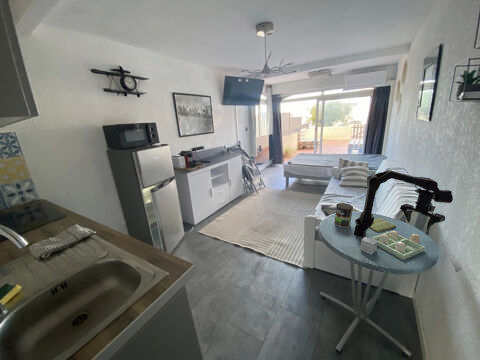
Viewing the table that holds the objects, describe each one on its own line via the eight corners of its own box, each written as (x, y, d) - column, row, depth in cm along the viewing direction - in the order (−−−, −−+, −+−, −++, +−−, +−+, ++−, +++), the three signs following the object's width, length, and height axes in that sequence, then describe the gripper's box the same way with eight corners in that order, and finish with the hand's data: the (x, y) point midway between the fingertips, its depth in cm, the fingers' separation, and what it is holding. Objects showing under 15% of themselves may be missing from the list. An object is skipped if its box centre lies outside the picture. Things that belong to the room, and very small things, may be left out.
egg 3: (401, 255, 106) (403, 245, 104) (392, 251, 110) (394, 241, 108) (406, 253, 107) (408, 243, 106) (397, 248, 111) (399, 239, 110)
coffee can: (343, 229, 134) (345, 210, 130) (331, 222, 143) (333, 204, 139) (353, 225, 138) (356, 207, 134) (341, 219, 147) (343, 201, 143)
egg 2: (394, 243, 116) (396, 233, 115) (386, 239, 120) (388, 230, 119) (399, 241, 118) (401, 232, 116) (391, 237, 122) (393, 228, 120)
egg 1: (384, 246, 114) (386, 237, 112) (377, 242, 117) (378, 233, 116) (389, 244, 115) (391, 235, 113) (382, 240, 119) (384, 231, 117)
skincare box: (371, 256, 108) (373, 244, 106) (359, 250, 112) (361, 239, 110) (376, 251, 111) (378, 240, 109) (364, 246, 116) (366, 235, 114)
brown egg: (415, 246, 114) (418, 237, 112) (407, 242, 118) (409, 233, 116) (420, 244, 116) (422, 235, 114) (411, 240, 120) (413, 231, 118)
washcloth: (360, 225, 139) (361, 221, 138) (379, 220, 145) (379, 216, 144) (378, 234, 127) (379, 230, 126) (397, 229, 133) (398, 225, 132)
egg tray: (402, 261, 103) (404, 255, 102) (369, 242, 119) (370, 237, 118) (423, 252, 109) (425, 247, 108) (389, 235, 125) (390, 231, 124)
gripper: (454, 204, 104) (446, 230, 108) (413, 193, 120) (408, 216, 125) (442, 208, 100) (435, 235, 104) (401, 196, 116) (396, 220, 121)
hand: (417, 225), depth 114 cm, fingers open, 9 cm apart
